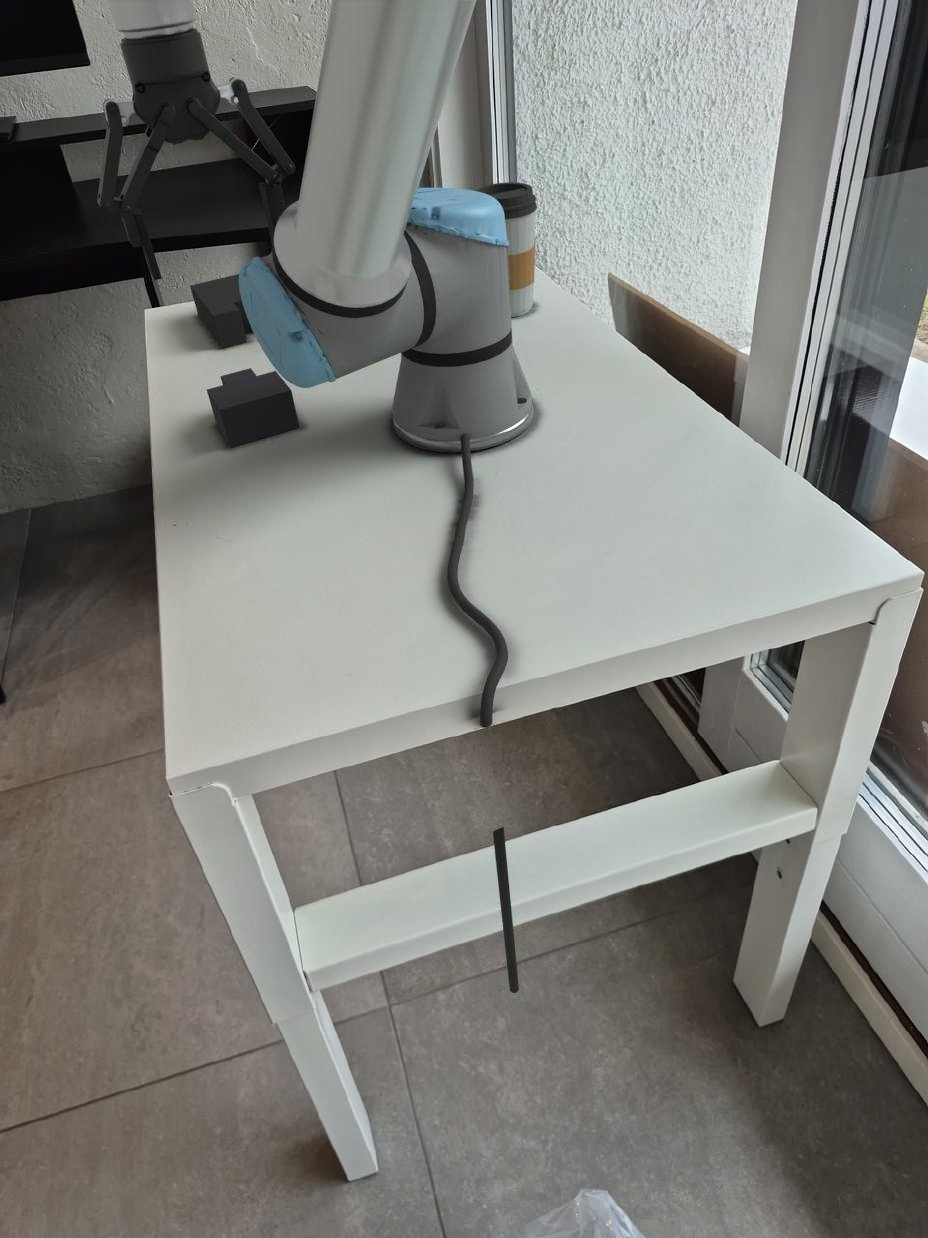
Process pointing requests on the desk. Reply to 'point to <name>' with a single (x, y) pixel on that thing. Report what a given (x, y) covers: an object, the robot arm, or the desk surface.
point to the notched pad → (222, 310)
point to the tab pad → (252, 406)
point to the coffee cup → (518, 239)
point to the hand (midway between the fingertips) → (218, 262)
